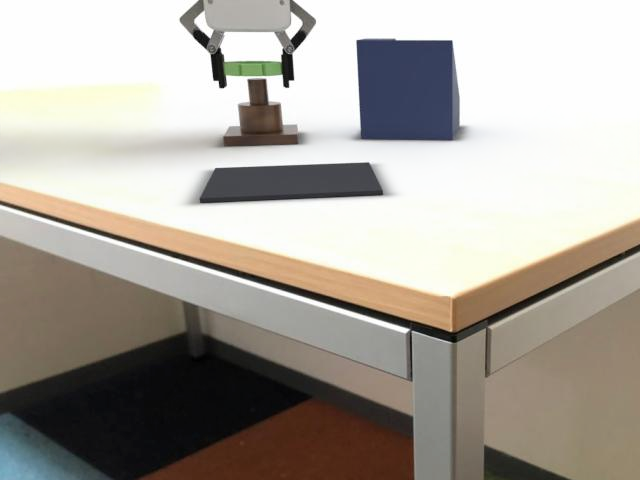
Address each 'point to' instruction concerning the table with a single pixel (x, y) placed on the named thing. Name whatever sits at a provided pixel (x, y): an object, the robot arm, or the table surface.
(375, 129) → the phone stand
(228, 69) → the ring
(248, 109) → the stand
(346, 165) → the mat
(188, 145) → the table surface
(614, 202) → the table surface
